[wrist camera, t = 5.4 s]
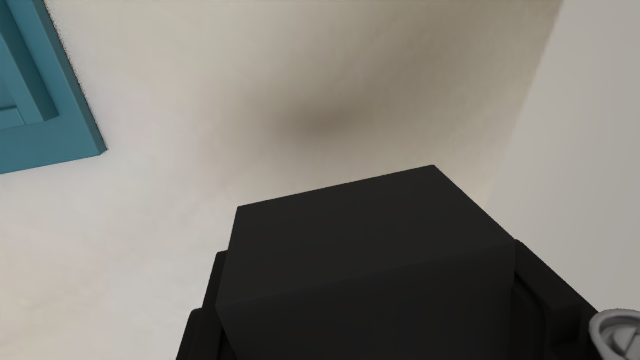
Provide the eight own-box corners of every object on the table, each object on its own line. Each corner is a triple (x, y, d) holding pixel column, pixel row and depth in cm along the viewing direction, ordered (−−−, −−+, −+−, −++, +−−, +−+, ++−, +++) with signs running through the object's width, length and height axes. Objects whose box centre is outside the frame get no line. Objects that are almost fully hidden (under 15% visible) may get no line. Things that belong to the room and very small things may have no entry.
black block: (434, 163, 9) (517, 239, 6) (443, 313, 11) (509, 430, 8) (236, 205, 9) (213, 306, 6) (282, 349, 11) (283, 482, 8)
